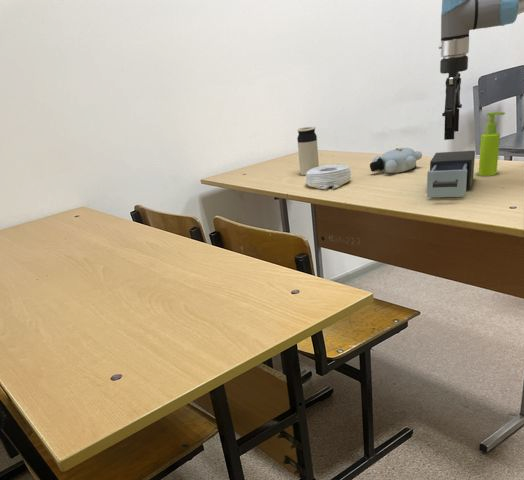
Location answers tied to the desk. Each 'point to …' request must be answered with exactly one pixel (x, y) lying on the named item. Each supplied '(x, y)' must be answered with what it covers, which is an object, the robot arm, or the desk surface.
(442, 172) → the drawer
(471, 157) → the small drawer cabinet
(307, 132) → the travel mug
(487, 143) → the soap dispenser
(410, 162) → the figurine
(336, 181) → the cable
